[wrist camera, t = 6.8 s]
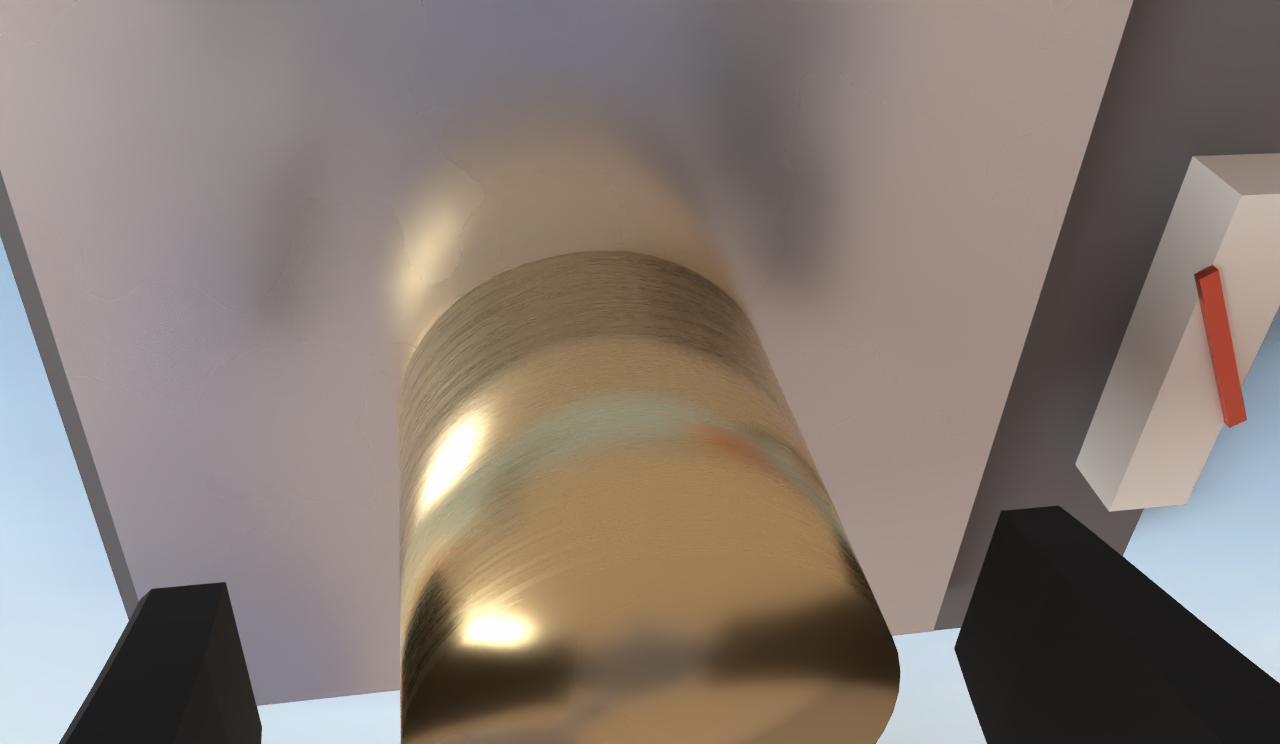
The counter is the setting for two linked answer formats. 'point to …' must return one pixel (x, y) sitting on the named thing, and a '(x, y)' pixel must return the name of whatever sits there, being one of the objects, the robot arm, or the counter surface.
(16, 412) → the counter surface
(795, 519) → the cylinder
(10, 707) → the counter surface
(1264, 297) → the scale
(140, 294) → the platform
